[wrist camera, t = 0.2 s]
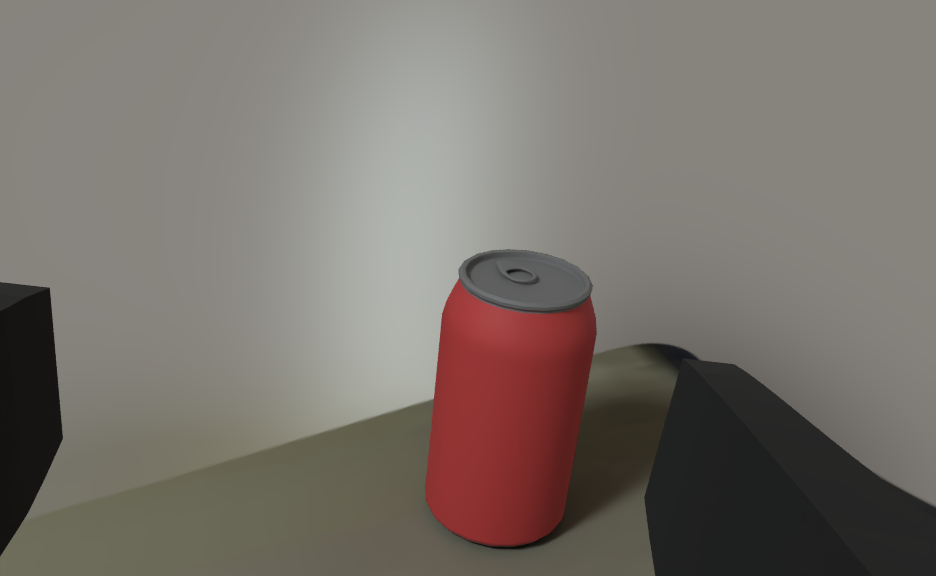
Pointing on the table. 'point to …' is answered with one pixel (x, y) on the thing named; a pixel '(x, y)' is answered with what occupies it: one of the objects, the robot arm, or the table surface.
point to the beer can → (509, 396)
